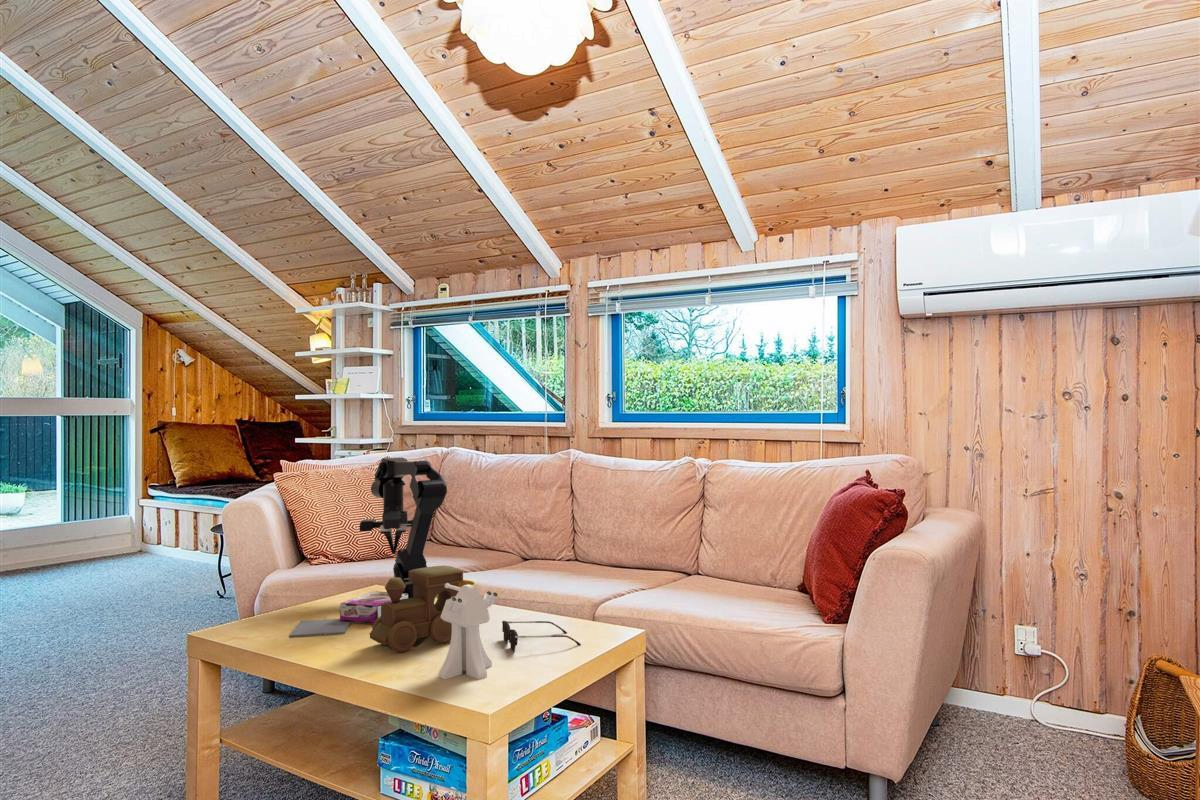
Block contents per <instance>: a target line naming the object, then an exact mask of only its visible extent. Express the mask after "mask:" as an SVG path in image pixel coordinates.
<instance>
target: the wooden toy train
mask: <svg viewBox="0 0 1200 800" xmlns="http://www.w3.org/2000/svg"><path fill="white" fill-rule="evenodd" d="M408 579H409V582H412V583H413V595H414V598H407V599H401V600H400V598H401V596H402V594H403V591H404V589H405V587H406V585H405V584H404V582H403V581H402V580H401V578H394V577H391V578H389V579H388V581H387V582H386V585H385V586H384V589H385V592H387V593H388V595H389V597H390V599H391V601H390V602H386V603H382V604H381V616H380V617H379V618H377V620H376V621H375V622H374V624H372V628H371V631H370V632H369V639H371V640H373V641H374V642H377V643H378V644H380V645H382V646H385V645H388V646H389V647H390V649H391V650H392V651H394V652H396V653H405V652H407V651H410V649H411V648H413V646H414V645H415V644H416V641H417V639H419V638H421V639H422V638H425V637H429V636H430V638H432V640H433V641H434V642H435V643H437V644H440V645H441V644H446V643H449V642H451V635H452V623H449V622H446V621H444V620H443V619H442V618H440V617H441V614H442V611H443V608H444V605H445V602H446V600H448V599H451V597H455V596H456V595H457V593H458V592H459V591H457V590H454V589H450V588H445V584H446V583H449V584H450V585H453V586H456V587H459V583H460V582H463V580H464V571H463V570H462V569H460V568H458V567H455V566H451V565H435V566H433V565H432V566H427V567H425V568H419V569H414V570H410V571H409V578H408ZM437 594H438V599H437V598H436V596H437ZM435 600H436V601H435Z"/></svg>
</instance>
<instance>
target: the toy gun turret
mask: <svg viewBox="0 0 1200 800" xmlns="http://www.w3.org/2000/svg"><path fill="white" fill-rule="evenodd" d="M445 588H450V589H454V590H457V591H459V592H458V593H457V595H456V596H455V597H451V599H448V600H446V602H445V605H444V608H443V611H442V614H441V617H440V618H442V619H443V620H444V621H446V622H449V623H452V635H451V640H450V644H449V647H448V651H447V654H446V658H445V660H444V662H443V663H442V666H441V667H440V669H439V671H438V678H440V679H442V680H446V679H450V678H454V677H457V676H460V675H465V676H466V675H467V676H470V677H472V678H474V679H477V680H481V679H484V678H488V671H487V668H490V667H493V661H492V659H491V657H490V656H489V654H488V653H487V652H486V650H485V647H484V644H483V642H482V639H481V632H480V631H481V630H480V625H482V624H486V623H489V621H490V620H491V619H492V618H491V614H490V612H489V609H488V608H490V607H492V606H493V605H494V603H495V602H496V600H497V598H498V596H499V594H498V593H497V592H496V591H493V592H492V591H490V590H487V591H486V592H485V594H484V595H483V597H482V596H481V594H480V593H479V589H478V588H477V586H476V587H474V586H473V585H469V584H468V585H463V586H462V587H456V586H453V585H450V584H449V583H446V584H445Z"/></svg>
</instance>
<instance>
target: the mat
mask: <svg viewBox="0 0 1200 800" xmlns="http://www.w3.org/2000/svg"><path fill="white" fill-rule="evenodd" d="M351 623H352V622H344V621H340V618H327V619H326V618H325V619H323V618H322V619H307V620H306V619H305V620H300V621H299V622H298V623H297V625H296V626H295V627H294V629H293V630H292V631H291V632H290V633H289V634H288V636H289V638H301V637H302V638H303V637H314V636H315V637H317V636H333V635H345V634H346V633H347V631H348V629H349V627H350V625H351Z"/></svg>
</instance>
